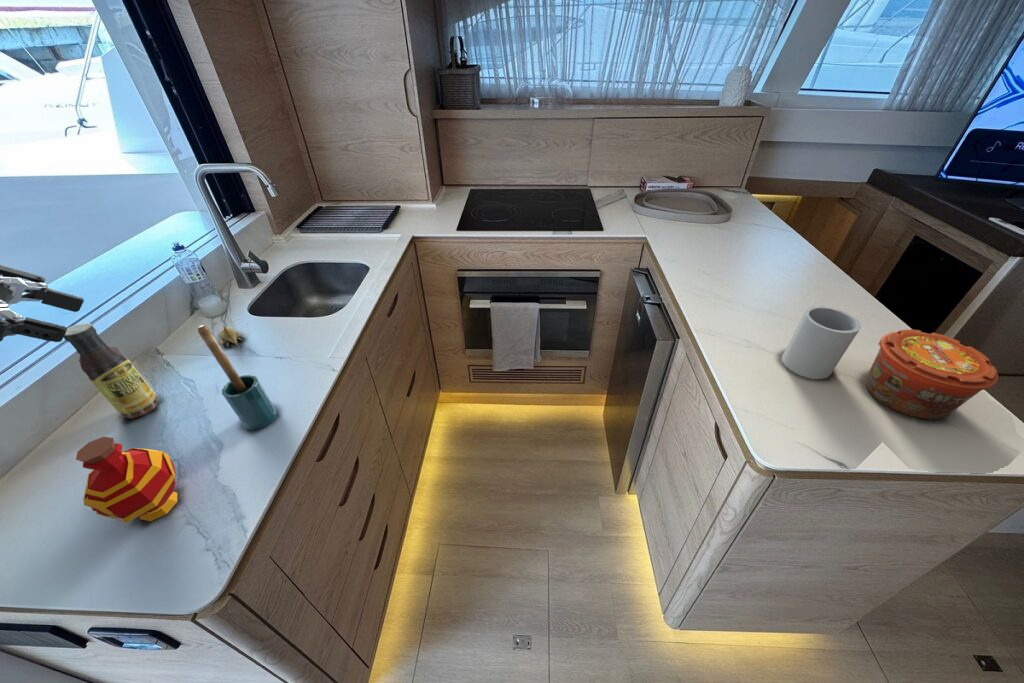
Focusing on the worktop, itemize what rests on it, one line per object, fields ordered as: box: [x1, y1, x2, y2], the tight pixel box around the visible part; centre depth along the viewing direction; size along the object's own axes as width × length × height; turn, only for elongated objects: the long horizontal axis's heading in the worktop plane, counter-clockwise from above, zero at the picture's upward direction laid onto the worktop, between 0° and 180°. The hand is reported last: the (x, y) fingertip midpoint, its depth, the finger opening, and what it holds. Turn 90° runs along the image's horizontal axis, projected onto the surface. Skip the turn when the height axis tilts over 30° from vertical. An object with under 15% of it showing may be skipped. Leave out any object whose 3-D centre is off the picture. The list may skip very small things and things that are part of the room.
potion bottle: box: [75, 436, 178, 523], centre depth 59 cm, size 10×10×15 cm
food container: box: [864, 329, 999, 420], centre depth 74 cm, size 16×16×11 cm
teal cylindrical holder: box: [221, 374, 278, 431], centre depth 74 cm, size 6×6×9 cm
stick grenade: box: [197, 325, 250, 395], centre depth 70 cm, size 3×3×22 cm
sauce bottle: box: [63, 322, 159, 420], centre depth 74 cm, size 7×6×20 cm
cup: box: [781, 305, 862, 380], centre depth 81 cm, size 9×9×12 cm
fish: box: [219, 325, 243, 349], centre depth 95 cm, size 5×14×5 cm, turn 48°
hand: (73, 319), depth 55 cm, fingers open, 8 cm apart
